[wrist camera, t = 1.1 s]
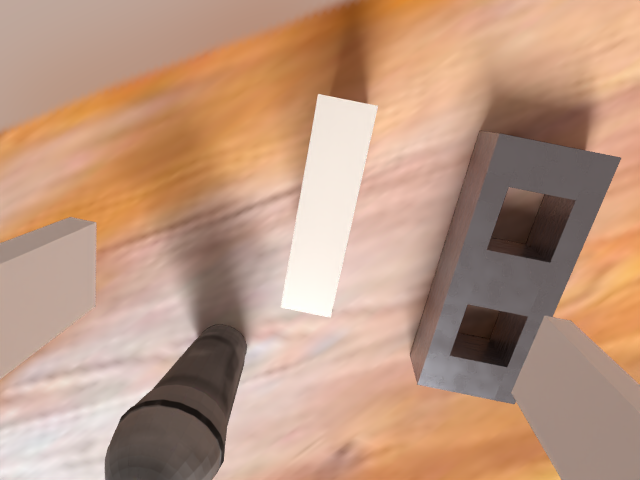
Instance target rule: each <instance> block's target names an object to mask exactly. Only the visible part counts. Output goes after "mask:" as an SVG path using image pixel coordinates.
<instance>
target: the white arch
mask: <svg viewBox="0 0 640 480" xmlns="http://www.w3.org/2000/svg"><path fill="white" fill-rule="evenodd" d="M377 108H378V106H376V105H371V104H366V103H361V102H356V101H351V100H346V99H341V98H336V97H331V96H326V95H321V94H318V98H317V104H316V109H315V115H314V121H313V126H312V132H311V138H310V143H309V149H308V155H307V161H306V166H305V172H304V178H303V183H302V189H301V195H300V200H299V206H298V212H297V217H296V223H295V229H294V235H293V240H292V246H291V252H290V257H289V263H288V269H287V274H286V280H285V286H284V292H283V297H282V303H281V308H286V309H291V310H296V311H301V312H306V313H310V314H315V315H320V316H325V317H330V318H331V313H332V309H333V304H334V300H335V296H336V291H337V287H338V282H339V278H340V273H341V269H342V264H343V260H344V255H345V251H346V247H347V242H348V238H349V233H350V229H351V224H352V220H353V215H354V211H355V206H356V202H357V198H358V193H359V189H360V184H361V180H362V175H363V171H364V166H365V162H366V157H367V153H368V148H369V144H370V140H371V135H372V131H373V126H374V122H375V117H376V113H377Z"/></svg>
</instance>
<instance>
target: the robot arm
mask: <svg viewBox="0 0 640 480" xmlns="http://www.w3.org/2000/svg"><path fill="white" fill-rule="evenodd" d="M95 306H96V222H92V221H87V220H82V219H77V218H72V217H69V218H67V219H64V220H61V221H59V222H56V223H53V224H51V225H48V226H45V227H42V228H40V229H37V230H34V231H32V232H29V233H26V234H24V235H21V236H18V237H16V238H13V239H10V240H8V241H5V242H2V243H0V379H1V378H3V377H4V376H5V375H7V374H8V373H9V372H11V371H12V370H13V369H14V368H16V367H17V366H18V365H20V364H21V363H22V362H24V361H25V360H26V359H28V358H29V357H30V356H31V355H33V354H34V353H35V352H37V351H38V350H39V349H41V348H42V347H43V346H45V345H46V344H47V343H48V342H50V341H51V340H52V339H54V338H55V337H56V336H58V335H59V334H60V333H61V332H63V331H64V330H65V329H67V328H68V327H69V326H71V325H72V324H73V323H75V322H76V321H77V320H78V319H80V318H81V317H82V316H84V315H85V314H86V313H88V312H89V311H90V310H92V309H93V308H94V307H95ZM511 394H512V395H513V397H514V399H515V400H516V402H517V404H518V406H519V407H520V409H521V411H522V412H523V414H524V416H525V418H526V419H527V421H528V423H529V424H530V426H531V428H532V430H533V431H534V433H535V435H536V436H537V438H538V440H539V442H540V443H541V445H542V447H543V448H544V450H545V452H546V454H547V455H548V457H549V459H550V460H551V462H552V464H553V466H554V467H555V469H556V471H557V472H558V474H559V476H560V478H561V479H562V480H640V385H639V384H638V383H637V382H636V381H635V380H634V379H633V378H632V377H631V376H630V375H629V374H627V373H626V372H625V371H624V370H623V369H622V368H621V367H620V366H619V365H618V364H617V363H616V362H615V361H613V360H612V359H611V358H610V357H609V356H608V355H607V354H606V353H605V352H604V351H603V350H602V349H601V348H600V347H598V346H597V345H596V344H595V343H594V342H593V341H592V340H591V339H590V338H589V337H588V336H587V335H586V334H585V333H583V332H582V331H581V330H580V329H579V328H578V327H577V326H576V325H575V324H574V323H573V322H572V321H569V320H564V319H560V318H555V317H550V316H544V318H543V320H542V323H541V325H540V327H539V330H538V332H537V334H536V336H535V339H534V341H533V343H532V346H531V348H530V350H529V353H528V355H527V357H526V360H525V362H524V364H523V367H522V369H521V371H520V373H519V376H518V378H517V380H516V383H515V385H514V387H513V390H512V392H511Z"/></svg>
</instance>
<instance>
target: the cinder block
mask: <svg viewBox="0 0 640 480" xmlns="http://www.w3.org/2000/svg"><path fill="white" fill-rule="evenodd" d="M620 160H621V158H620V157H615V156H610V155H605V154H600V153H595V152H590V151H585V150H580V149H575V148H570V147H565V146H560V145H555V144H550V143H545V142H540V141H535V140H530V139H525V138H520V137H515V136H510V135H505V134H500V133H493V132H485V131H479V134H478V138H477V141H476V144H475V147H474V151H473V154H472V157H471V160H470V163H469V167H468V170H467V173H466V176H465V180H464V183H463V186H462V189H461V192H460V196H459V199H458V202H457V205H456V209H455V212H454V215H453V218H452V221H451V225H450V228H449V231H448V234H447V238H446V241H445V244H444V247H443V250H442V254H441V257H440V260H439V263H438V267H437V270H436V273H435V276H434V279H433V283H432V286H431V289H430V292H429V296H428V299H427V302H426V305H425V308H424V312H423V315H422V318H421V321H420V325H419V328H418V331H417V334H416V337H415V341H414V344H413V347H412V350H411V354H410V357H411V361H412V365H413V369H414V373H415V377H416V381H417V385H422V386H427V387H432V388H437V389H442V390H447V391H452V392H457V393H462V394H467V395H471V396H476V397H481V398H486V399H491V400H496V401H501V402H506V403H511V404H515V402H516V400H515V399H514V397H513V395H512V394H511V392H512V390H513V387H514V385H515V383H516V380H517V378H518V376H519V373H520V371H521V369H522V367H523V364H524V362H525V360H526V357H527V355H528V353H529V350H530V348H531V346H532V343H533V341H534V339H535V336H536V334H537V332H538V330H539V327H540V325H541V323H542V320H543V318H544V316H550V317H553V314H554V312H555V310H556V307H557V305H558V303H559V301H560V298H561V296H562V294H563V291H564V289H565V287H566V284H567V282H568V280H569V277H570V275H571V273H572V271H573V268H574V266H575V264H576V261H577V259H578V257H579V254H580V252H581V250H582V248H583V245H584V243H585V241H586V238H587V236H588V234H589V231H590V229H591V227H592V224H593V222H594V220H595V218H596V215H597V213H598V211H599V208H600V206H601V204H602V201H603V199H604V197H605V194H606V192H607V190H608V188H609V185H610V183H611V181H612V178H613V176H614V174H615V171H616V169H617V167H618V164H619V162H620ZM508 187H512V188H517V189H522V190H527V191H532V192H537V193H542V194H545V195H544V198H543V201H542V203H541V206H540V209H539V211H538V214H537V216H536V219H535V222H534V224H533V227H532V229H531V232H530V235H529V237H528V240H527V243H526V245H525V244H520V243H515V242H510V241H505V240H501V239H496V238H491V236H492V233H493V230H494V227H495V224H496V222H497V219H498V216H499V213H500V210H501V207H502V204H503V202H504V199H505V196H506V193H507V190H508ZM468 304H469V305H474V306H479V307H484V308H489V309H494V310H499V311H500V313H499V316H498V318H497V321H496V324H495V326H494V329H493V331H492V334H491V337H490V339H486V338H481V337H476V336H471V335H466V334H461V333H458V330H459V327H460V325H461V322H462V319H463V316H464V313H465V310H466V307H467V305H468Z"/></svg>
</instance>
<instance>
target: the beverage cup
mask: <svg viewBox="0 0 640 480" xmlns="http://www.w3.org/2000/svg"><path fill="white" fill-rule="evenodd" d="M246 350H247V345H246V341H245V339H244V337H243V336H242V334H241V333H239V332H238V331H237V330H236V329H234V328H232V327H230V326H226V325H214V326H211V327H209V328H207V329H206V330H205V331H204V332H203V333H202V335H201V336H199V337H198V338H197V339H196V340H195V341H194V342H193V343H192V345H191V346H190V347H189V348H188V349H187V350H186V352H185V353H184V354H183V355H182V356H181V357H180V358H179V360H178V361H177V362H176V363H175V364H174V365H173V367H172V368H171V369H170V370H169V371H168V372H167V373H166V375H165V376H164V377H163V378H162V379H161V380H160V382H159V383H158V384H157V385H156V386H155V387H154V388H153V390H152V391H150V392H149V393H148V394H147V395H146V396H144V397H143V398H142V399H141V400H140V401H139V402H138V403H137V404H136V405H135V406H133V407H131V408H130V409H129V410H128V411H127V412H126V413H125V414H124V415H123V416H122V417H121V419H120V421H119V424H118V426H117V429H116V430H115V433H114V435H113V437H112V440H111V442H110V445H109V447H108V449H107V453H106V457H105V480H212V479H213V478H214V476H215V475H216V474H217V472H218V470H219V468H220V467H221V465H222V463H223V461H224V451H225V441H226V432H227V425H228V421H229V418H230V414H231V410H232V407H233V403H234V399H235V396H236V392H237V388H238V384H239V381H240V377H241V373H242V370H243V366H244V360H245V355H246Z"/></svg>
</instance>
